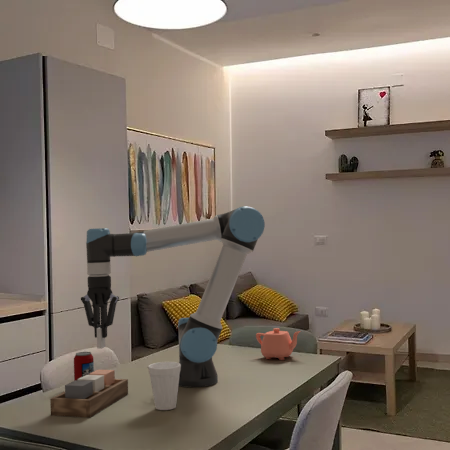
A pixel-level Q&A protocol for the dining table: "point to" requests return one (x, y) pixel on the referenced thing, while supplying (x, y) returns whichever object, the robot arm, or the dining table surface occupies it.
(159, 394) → the cup
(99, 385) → the white square block
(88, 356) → the beverage can
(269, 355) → the teapot
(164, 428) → the dining table surface
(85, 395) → the grey square block
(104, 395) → the wooden tray
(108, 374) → the salmon pink square block
